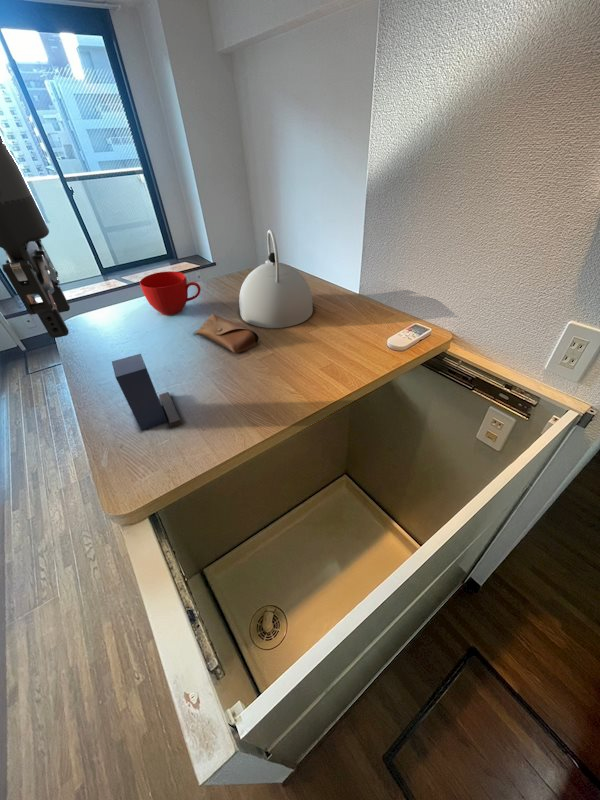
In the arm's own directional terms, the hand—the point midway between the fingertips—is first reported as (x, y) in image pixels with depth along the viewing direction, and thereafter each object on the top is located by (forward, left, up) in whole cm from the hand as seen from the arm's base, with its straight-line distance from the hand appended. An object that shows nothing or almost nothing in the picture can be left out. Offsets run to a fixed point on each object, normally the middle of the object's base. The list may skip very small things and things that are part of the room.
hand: (62, 322), depth 48 cm
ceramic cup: (+23, +47, -23) cm, 57 cm away
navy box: (+6, +1, -23) cm, 24 cm away
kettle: (+50, +32, -23) cm, 64 cm away
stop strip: (+10, +1, -23) cm, 25 cm away
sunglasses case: (+30, +23, -23) cm, 44 cm away
